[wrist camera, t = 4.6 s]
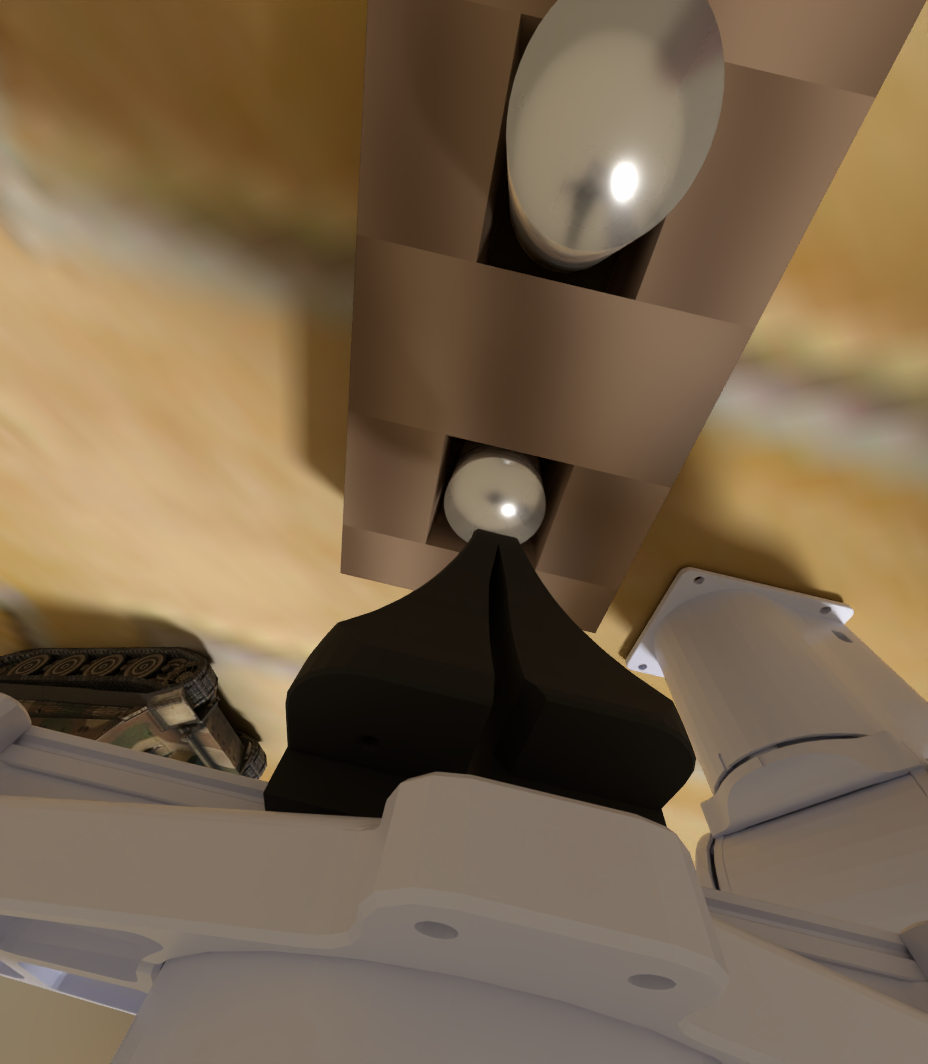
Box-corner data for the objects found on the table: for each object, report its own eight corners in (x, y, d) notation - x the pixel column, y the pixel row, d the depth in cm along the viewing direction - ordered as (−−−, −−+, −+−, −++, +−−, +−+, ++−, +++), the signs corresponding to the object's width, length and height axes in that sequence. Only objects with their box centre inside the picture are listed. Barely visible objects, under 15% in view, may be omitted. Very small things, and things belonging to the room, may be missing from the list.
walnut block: (805, 59, 12) (972, -90, 8) (579, 570, 22) (595, 633, 18) (428, -31, 12) (378, -231, 8) (374, 522, 22) (340, 573, 18)
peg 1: (549, 436, 18) (559, 472, 14) (526, 509, 20) (529, 559, 16) (467, 417, 18) (454, 447, 14) (452, 492, 20) (436, 537, 16)
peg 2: (670, 116, 11) (772, -13, 6) (613, 285, 13) (663, 269, 8) (530, 83, 11) (540, -68, 6) (495, 257, 13) (485, 228, 8)
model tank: (284, 745, 35) (148, 997, 22) (83, 737, 39) (-135, 951, 26) (224, 642, 29) (-11, 906, 16) (-7, 644, 33) (-354, 862, 20)
